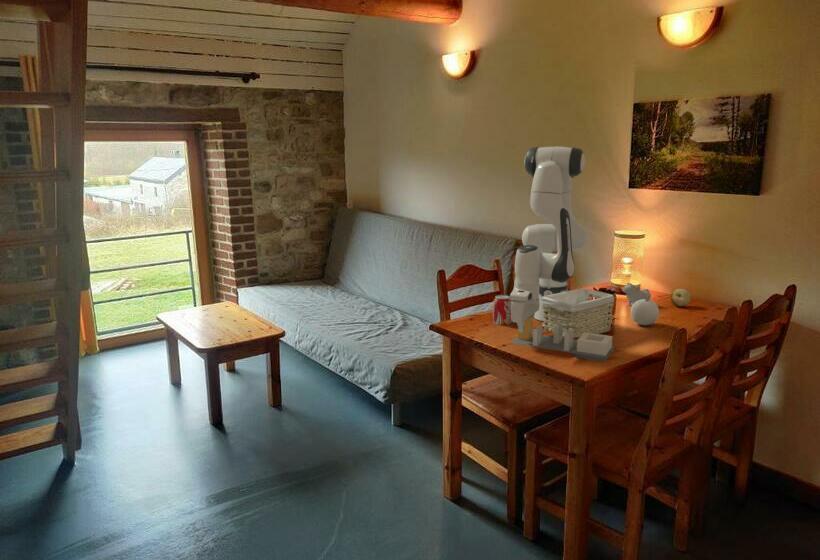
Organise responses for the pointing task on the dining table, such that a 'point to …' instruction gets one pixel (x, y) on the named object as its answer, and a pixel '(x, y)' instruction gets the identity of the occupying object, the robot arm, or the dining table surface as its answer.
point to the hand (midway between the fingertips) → (525, 328)
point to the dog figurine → (635, 293)
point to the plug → (526, 329)
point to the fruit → (680, 297)
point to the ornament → (645, 312)
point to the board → (571, 343)
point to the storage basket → (578, 311)
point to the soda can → (502, 310)
